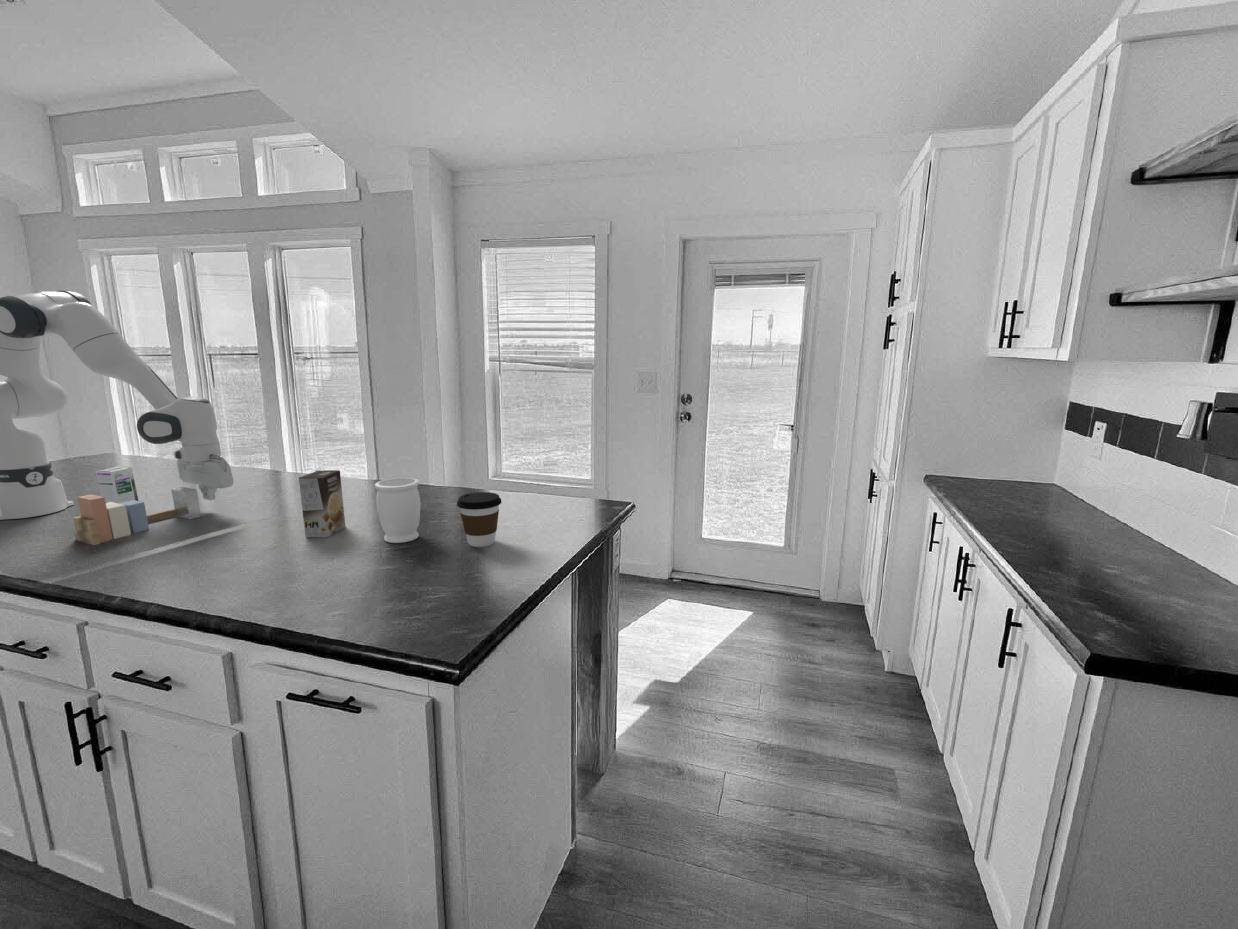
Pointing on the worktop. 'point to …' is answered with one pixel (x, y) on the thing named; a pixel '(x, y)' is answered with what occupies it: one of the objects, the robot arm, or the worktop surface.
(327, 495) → the coffee box
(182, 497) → the bookend
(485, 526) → the coffee cup
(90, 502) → the book
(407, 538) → the jar
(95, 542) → the rack
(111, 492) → the syrup box
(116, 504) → the book
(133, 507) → the pale blue cuboid
